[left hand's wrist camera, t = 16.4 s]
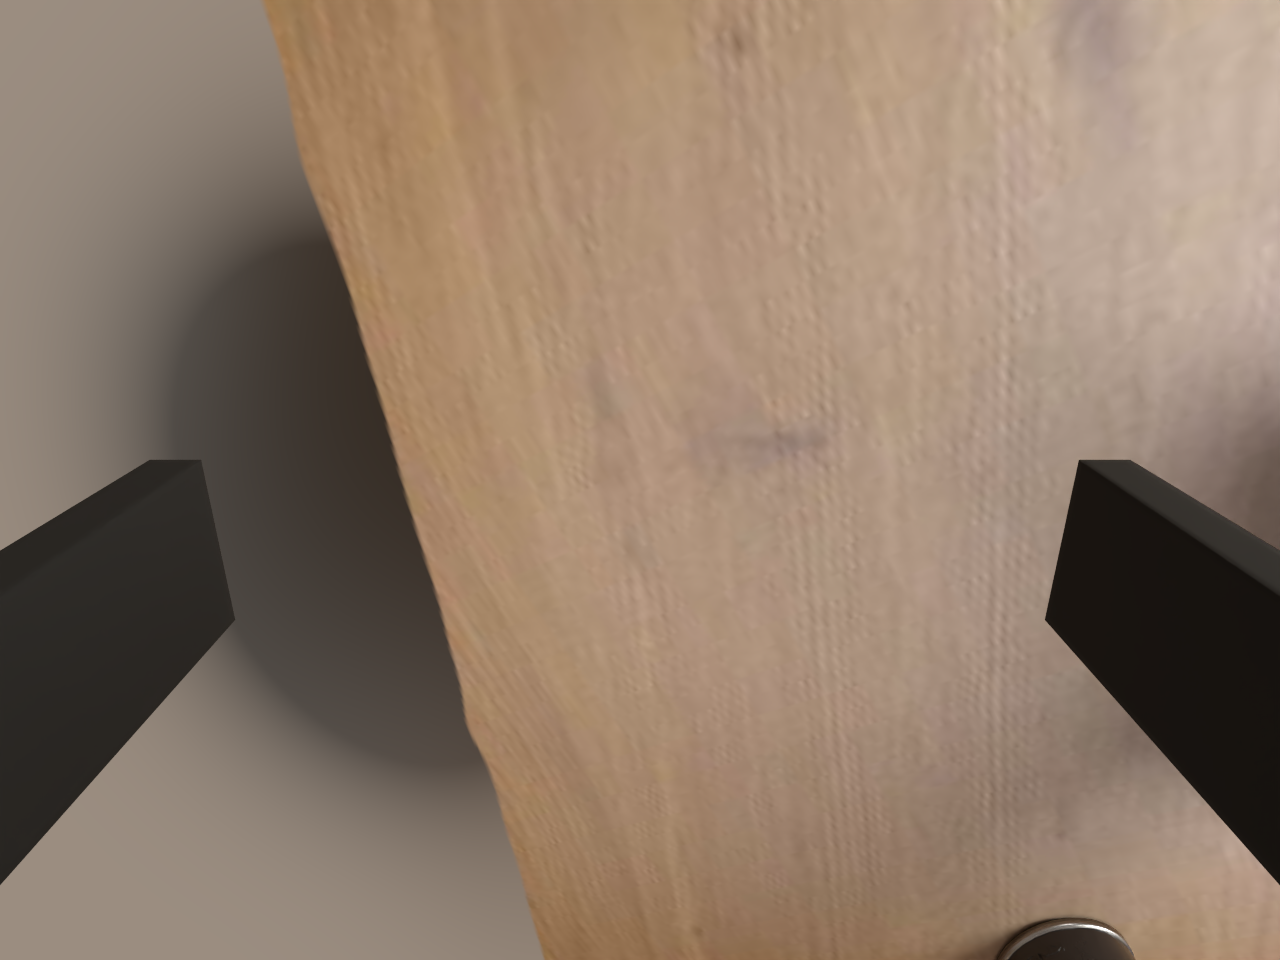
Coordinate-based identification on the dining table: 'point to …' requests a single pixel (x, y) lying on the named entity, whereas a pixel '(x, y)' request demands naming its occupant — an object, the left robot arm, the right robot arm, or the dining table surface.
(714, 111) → the dining table surface
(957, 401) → the dining table surface
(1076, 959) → the right robot arm
